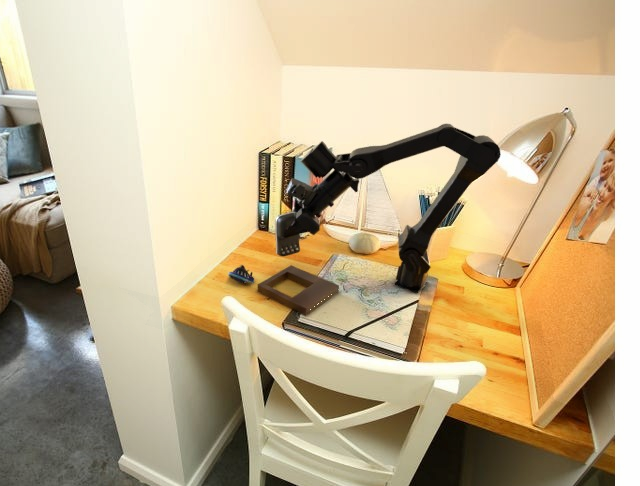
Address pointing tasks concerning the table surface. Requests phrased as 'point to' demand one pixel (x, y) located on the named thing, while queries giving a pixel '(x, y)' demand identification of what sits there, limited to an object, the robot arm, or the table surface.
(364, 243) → the sea urchin shell
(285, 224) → the battery charger
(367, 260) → the table surface
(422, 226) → the robot arm
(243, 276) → the spaceship
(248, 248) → the table surface
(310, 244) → the table surface
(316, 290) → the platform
